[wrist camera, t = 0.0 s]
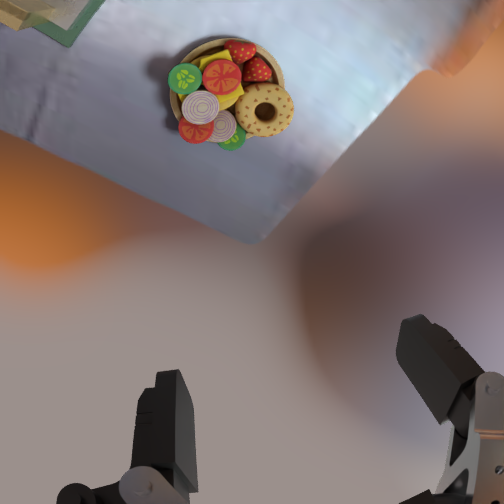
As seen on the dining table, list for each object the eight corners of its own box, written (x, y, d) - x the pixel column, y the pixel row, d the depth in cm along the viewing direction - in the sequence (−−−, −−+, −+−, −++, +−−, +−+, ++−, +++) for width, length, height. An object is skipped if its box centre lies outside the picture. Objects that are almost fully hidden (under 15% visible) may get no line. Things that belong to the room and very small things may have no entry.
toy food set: (295, 120, 37) (303, 130, 35) (196, 158, 38) (197, 170, 36) (262, 21, 27) (270, 24, 25) (148, 66, 29) (145, 72, 27)
